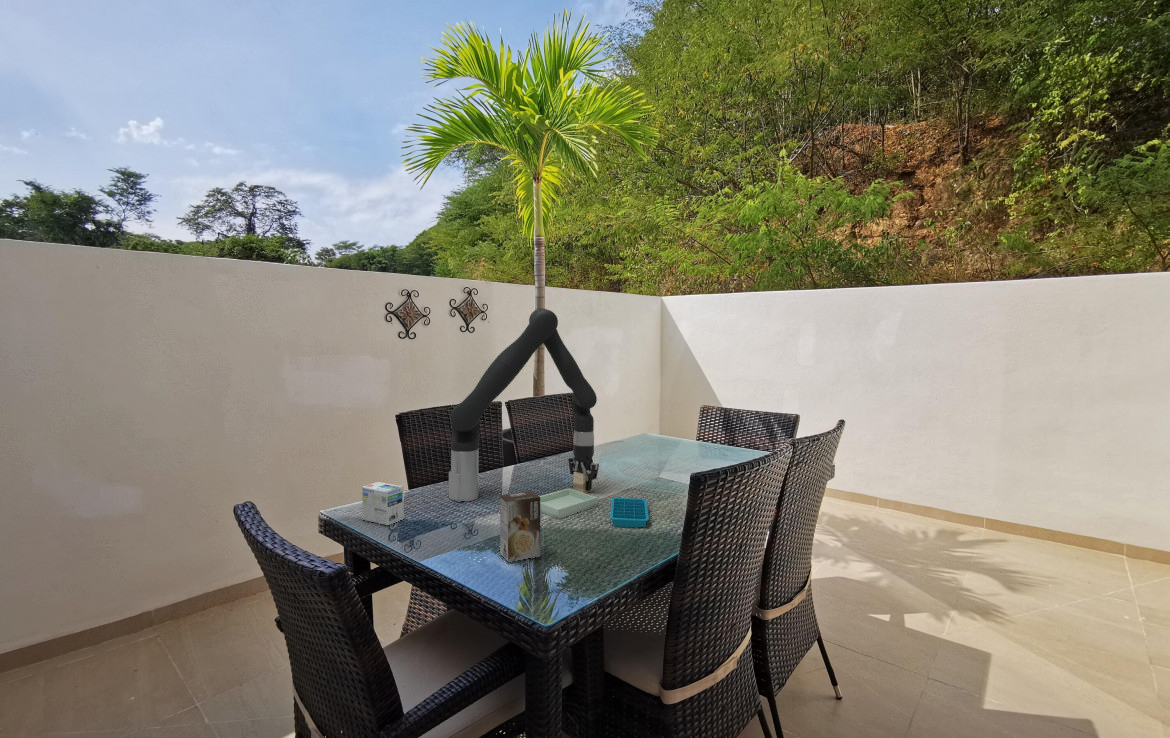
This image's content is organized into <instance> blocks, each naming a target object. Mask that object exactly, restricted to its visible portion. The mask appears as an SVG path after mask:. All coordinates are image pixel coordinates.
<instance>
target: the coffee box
mask: <svg viewBox="0 0 1170 738" xmlns="http://www.w3.org/2000/svg"><path fill="white" fill-rule="evenodd" d="M539 496H540V495H539V494H537V493H535V492H533V491H532V490H527V491H521V492H520V491H519V492H513V493H512V492H511V493H505V494H500V495H499V517H500V518H499V527H500V528H499V534H500V536H499V538H500V539H499V545H500V547H499V548H500V549H499V552H500V553H501V554H500V555H502V556H503V557H504V558H505V559H506V560H507V561H508V562H510V561H516V562H518V561H517V560H521V561H524V560H523V559H526V560H529V559H528V558H531V559H536V558H540V557H541V554H542V553H541V552H542V551H541V512H540V497H539ZM502 556H501V557H502ZM503 557H502V558H503ZM535 557H536V558H535ZM504 558H503V559H504ZM505 559H504V560H505ZM506 560H505V561H506ZM507 561H506V562H507Z"/></svg>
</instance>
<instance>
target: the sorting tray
mask: <svg viewBox="0 0 1170 738" xmlns="http://www.w3.org/2000/svg"><path fill="white" fill-rule="evenodd" d="M538 496H539V497H540V514H544V515H546V516H548V517H551V518H554V519H556V520H560V519H563V518H566V517H569V516H572V515H575V514H577V512H578V513H581V512H584V511H587V510H590V508H591V509H593V507H594V508H596V506H597V507H598V499H599V497H597V496H594V495H590V494H589V493H582V492H579V491H576V490H573V488H570V487H568V488H564V489H561V490H557V491H554V492H550V493H546V494H543V495H538ZM580 511H581V512H580Z"/></svg>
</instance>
